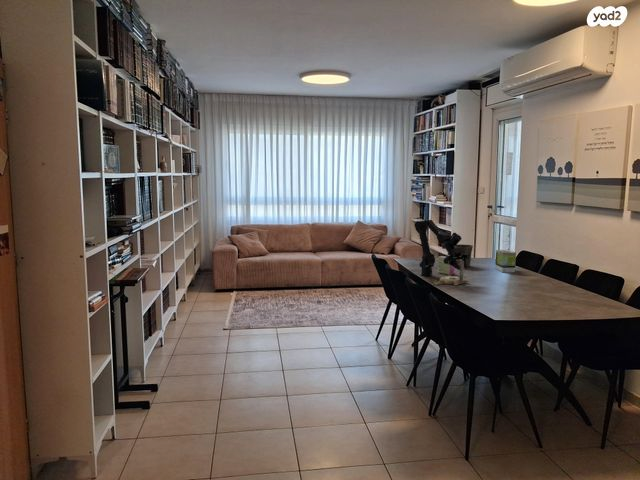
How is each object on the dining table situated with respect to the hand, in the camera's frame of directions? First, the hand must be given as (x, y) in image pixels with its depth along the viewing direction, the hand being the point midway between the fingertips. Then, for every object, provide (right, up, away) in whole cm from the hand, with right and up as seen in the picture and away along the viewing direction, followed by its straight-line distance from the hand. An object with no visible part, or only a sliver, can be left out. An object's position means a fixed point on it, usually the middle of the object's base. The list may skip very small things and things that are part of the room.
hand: (463, 269), depth 315 cm
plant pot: (+19, -2, +69) cm, 71 cm away
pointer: (-15, -10, +4) cm, 19 cm away
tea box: (+45, -4, +49) cm, 67 cm away
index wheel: (-4, -9, +9) cm, 14 cm away
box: (-1, -5, +40) cm, 40 cm away
